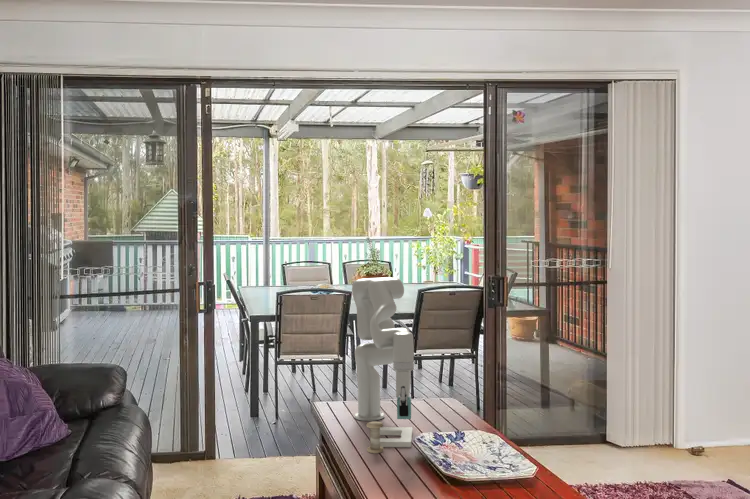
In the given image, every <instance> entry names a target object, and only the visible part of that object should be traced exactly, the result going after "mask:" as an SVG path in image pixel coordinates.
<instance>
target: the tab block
mask: <svg viewBox="0 0 750 499" xmlns="http://www.w3.org/2000/svg"><path fill="white" fill-rule="evenodd" d="M396 398H397V397H396ZM405 400H406V399H405ZM399 405H400V396H399V397H398V398H397V399H396V420H412V396H409V397H408V398H407V405H408V416H400V415H399Z"/></svg>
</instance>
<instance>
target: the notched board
mask: <svg viewBox="0 0 750 499" xmlns="http://www.w3.org/2000/svg"><path fill="white" fill-rule="evenodd" d="M413 432H414V430H413V427H412V426H411V427H410V426H405V427H403V426H392V427H391V426H388V427H387V426H383V427H381V428H380V436H400V437H399V438H393V437H392V438H390V437H389V438H388V437H387V438H384V437H382V438H381V437H380V446H381V447H383V448H412V441H413Z"/></svg>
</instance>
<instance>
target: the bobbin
mask: <svg viewBox="0 0 750 499" xmlns="http://www.w3.org/2000/svg"><path fill="white" fill-rule="evenodd" d="M381 427H384V423H383V422H381V421H377V420H376V421H367V423H366V428H369V440H370V442H369V443H370V445H369V446H368V447H367V448H366V452H368V453H370V454H380V453H383V452H384V447H381V446H380V438H381V435H380V428H381Z"/></svg>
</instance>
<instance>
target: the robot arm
mask: <svg viewBox="0 0 750 499" xmlns="http://www.w3.org/2000/svg"><path fill="white" fill-rule="evenodd" d="M351 293H352V297H353V300H354V304H355V307H356V326H357V336H358V338H359V339H360V340H361V341H372V342H368V343H362V344H361V343H360V344H359V345H357V346H356V347H355V349H354V358H355V359H354V360H355V364H356V365H355V366H356V376H357V412H356V413H354V418H355V420H358V421H362V422H374V421H376V422H377V421H379V420H382V419H383V418H385V413H384V412H383V411H381V376H380V373H379V372H378V370H377V369H375V367H376V366H383V365H384V366H385V365H392V364H393V365H392V367H393V371H394V372H395V398H398V397H400V405H399V415H400V416H408V405H407V398H408V397H410V394H411V384H412V383H411V381H412V380H411V376H412V374H411V372H412V371H413V370H414V369H415V368H414V364H415V363H414V360H415V359H414V357H415V356H414V335H413V333H412V332H411V331H410V330H409V329H408V328H406V327H396V326H395V322H394V321H393V319H392V316H394V315H395V313H396V312H397V304H396V302H395V299H398V300H399V299H401V298H403V296H404V294H405V287H404V283H403V282H402V280H401V279H400V278H398V277H390V276H389V277H387V276H386V277H385V276H384V277H368V278H365V277H364V278H359V279H357V280H355V281H353V283H352V286H351ZM405 399H406V400H405Z"/></svg>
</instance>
